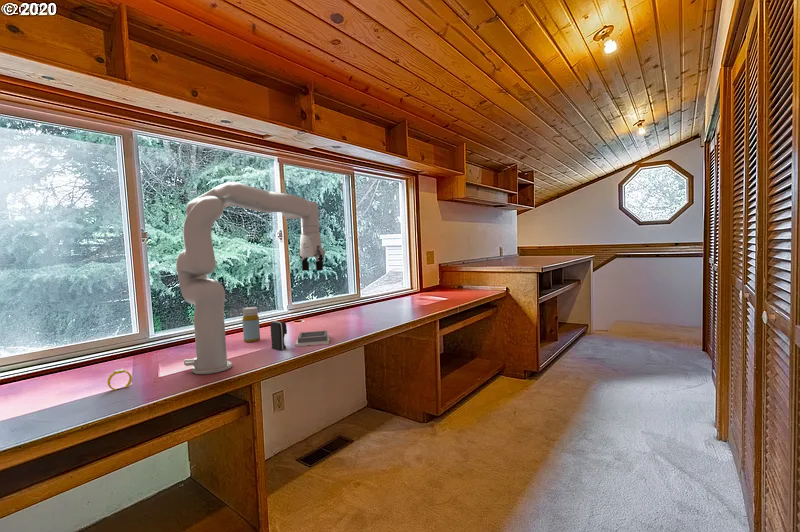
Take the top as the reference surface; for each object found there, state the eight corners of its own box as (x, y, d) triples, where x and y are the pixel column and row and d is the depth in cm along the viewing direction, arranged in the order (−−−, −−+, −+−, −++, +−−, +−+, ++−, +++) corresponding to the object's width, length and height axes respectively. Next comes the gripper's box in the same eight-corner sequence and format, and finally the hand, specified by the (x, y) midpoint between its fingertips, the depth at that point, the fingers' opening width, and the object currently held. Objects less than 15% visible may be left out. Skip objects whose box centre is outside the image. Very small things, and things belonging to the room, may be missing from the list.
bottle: (253, 338, 185) (252, 306, 185) (263, 339, 181) (261, 307, 181) (240, 341, 180) (238, 308, 179) (250, 343, 176) (247, 309, 175)
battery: (289, 348, 163) (287, 321, 162) (281, 350, 160) (279, 322, 159) (279, 346, 167) (277, 319, 166) (271, 348, 164) (269, 321, 163)
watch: (130, 386, 125) (130, 367, 125) (132, 388, 123) (132, 368, 123) (106, 390, 120) (107, 371, 120) (109, 392, 119) (109, 372, 119)
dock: (295, 346, 165) (294, 339, 165) (298, 339, 179) (297, 332, 179) (329, 344, 168) (328, 336, 167) (329, 336, 181) (329, 329, 181)
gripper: (291, 232, 173) (293, 271, 174) (315, 229, 162) (318, 271, 163) (305, 232, 179) (307, 269, 179) (330, 229, 167) (332, 269, 168)
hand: (312, 270), depth 171 cm, fingers open, 9 cm apart
